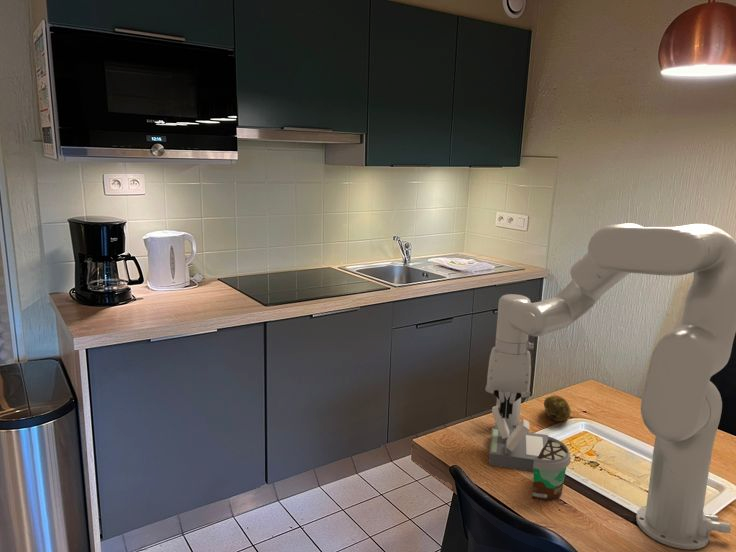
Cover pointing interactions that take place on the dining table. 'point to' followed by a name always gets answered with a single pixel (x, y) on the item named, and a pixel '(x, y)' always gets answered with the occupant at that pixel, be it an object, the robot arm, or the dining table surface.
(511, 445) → the paddle
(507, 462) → the panel
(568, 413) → the potato
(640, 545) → the dining table surface
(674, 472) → the robot arm
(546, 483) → the food container
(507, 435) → the paddle on
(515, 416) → the travel mug
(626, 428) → the dining table surface
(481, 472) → the dining table surface
